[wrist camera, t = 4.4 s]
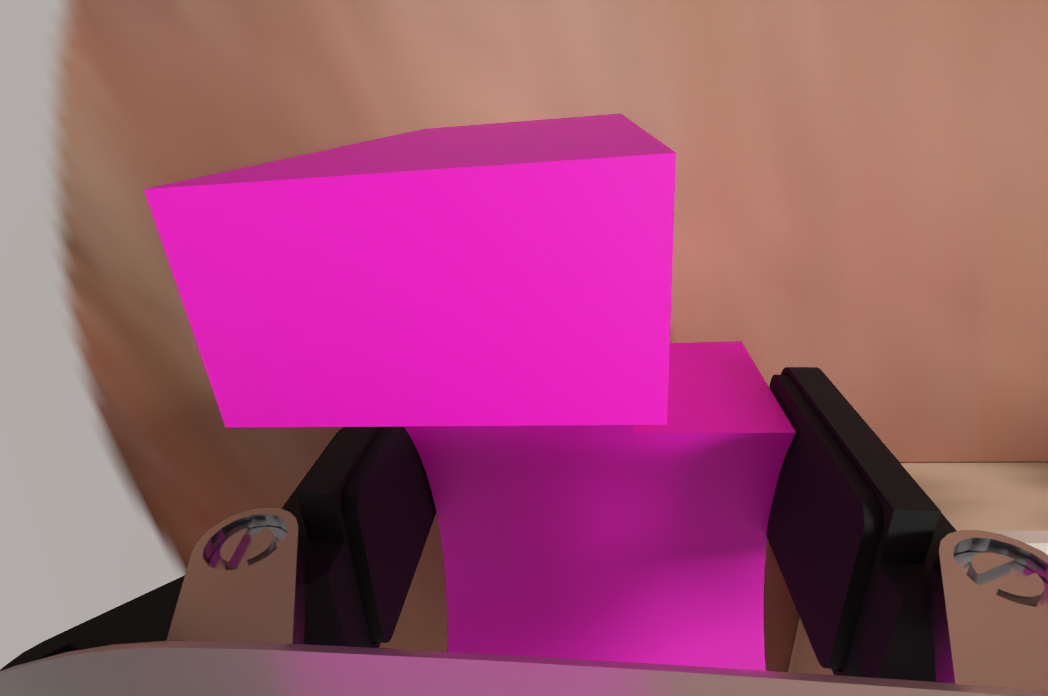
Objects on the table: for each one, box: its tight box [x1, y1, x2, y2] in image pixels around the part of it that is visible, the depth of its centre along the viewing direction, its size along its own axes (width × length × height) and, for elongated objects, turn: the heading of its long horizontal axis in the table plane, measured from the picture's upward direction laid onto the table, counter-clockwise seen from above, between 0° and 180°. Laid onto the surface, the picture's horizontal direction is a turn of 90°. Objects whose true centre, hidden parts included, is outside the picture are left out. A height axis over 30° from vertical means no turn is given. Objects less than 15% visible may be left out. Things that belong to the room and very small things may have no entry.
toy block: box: [144, 114, 796, 671], centre depth 10 cm, size 15×6×8 cm, turn 4°
